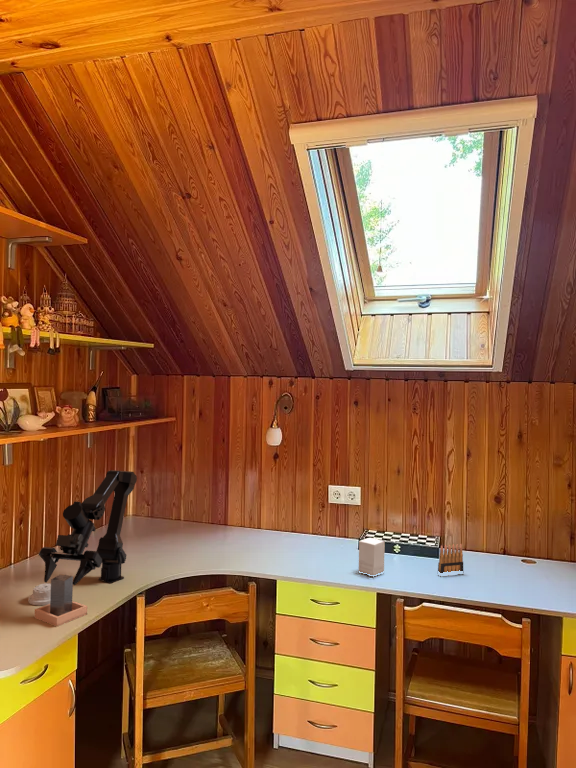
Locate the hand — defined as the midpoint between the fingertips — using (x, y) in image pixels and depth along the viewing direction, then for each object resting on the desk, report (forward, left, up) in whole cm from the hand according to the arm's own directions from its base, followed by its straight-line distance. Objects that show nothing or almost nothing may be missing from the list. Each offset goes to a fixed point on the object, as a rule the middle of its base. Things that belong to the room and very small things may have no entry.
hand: (59, 583), depth 167 cm
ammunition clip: (-111, +87, -11) cm, 142 cm away
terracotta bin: (-1, -1, -10) cm, 10 cm away
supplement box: (-94, +61, -11) cm, 113 cm away
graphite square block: (-1, -1, -10) cm, 10 cm away
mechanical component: (-6, -16, -11) cm, 20 cm away
